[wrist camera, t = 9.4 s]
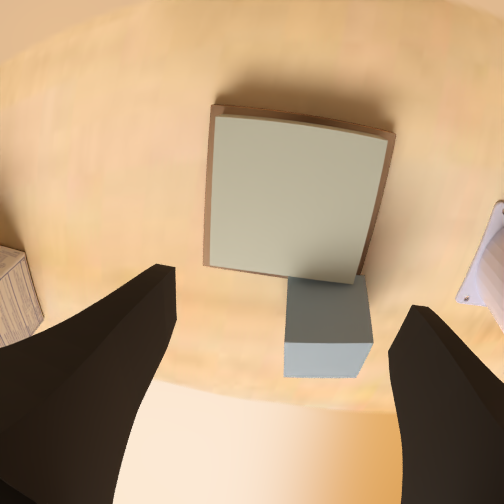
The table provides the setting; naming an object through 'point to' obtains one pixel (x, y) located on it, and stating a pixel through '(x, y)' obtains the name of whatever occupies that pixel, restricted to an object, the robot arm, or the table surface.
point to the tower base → (291, 116)
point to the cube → (326, 328)
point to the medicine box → (17, 298)
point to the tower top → (292, 196)
